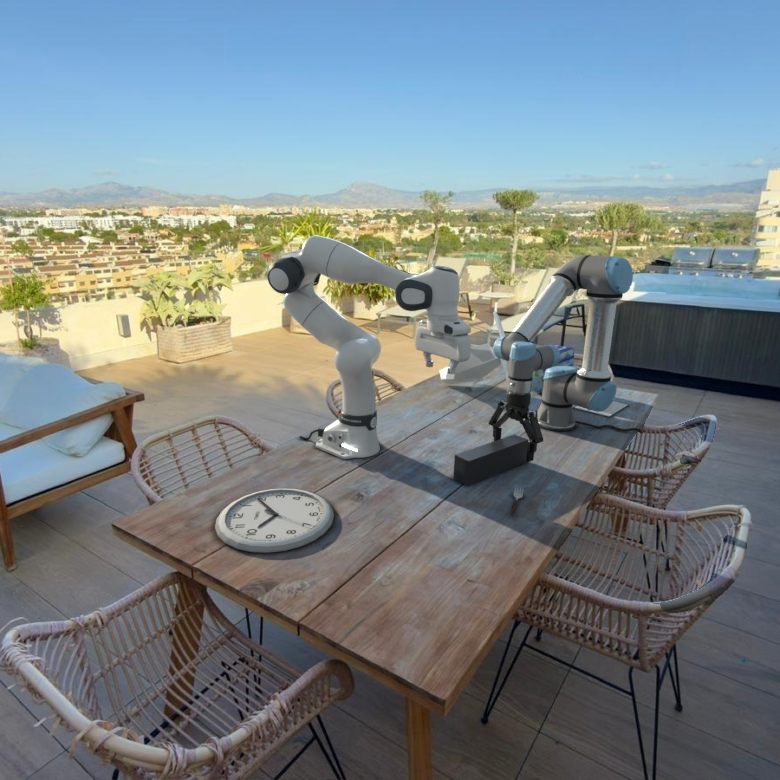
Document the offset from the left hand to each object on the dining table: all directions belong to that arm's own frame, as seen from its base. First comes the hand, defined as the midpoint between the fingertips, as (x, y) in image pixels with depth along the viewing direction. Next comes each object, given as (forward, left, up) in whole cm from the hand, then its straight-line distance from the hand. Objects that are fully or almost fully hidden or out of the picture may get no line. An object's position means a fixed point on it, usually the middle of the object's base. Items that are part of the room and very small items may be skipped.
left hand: (440, 370), depth 155 cm
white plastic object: (-18, +84, -33) cm, 92 cm away
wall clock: (-22, -49, -33) cm, 63 cm away
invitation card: (+34, +94, -33) cm, 105 cm away
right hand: (+19, +19, -30) cm, 40 cm away
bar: (+15, +10, -33) cm, 37 cm away
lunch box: (+8, +106, -33) cm, 112 cm away
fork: (+28, -7, -33) cm, 44 cm away
